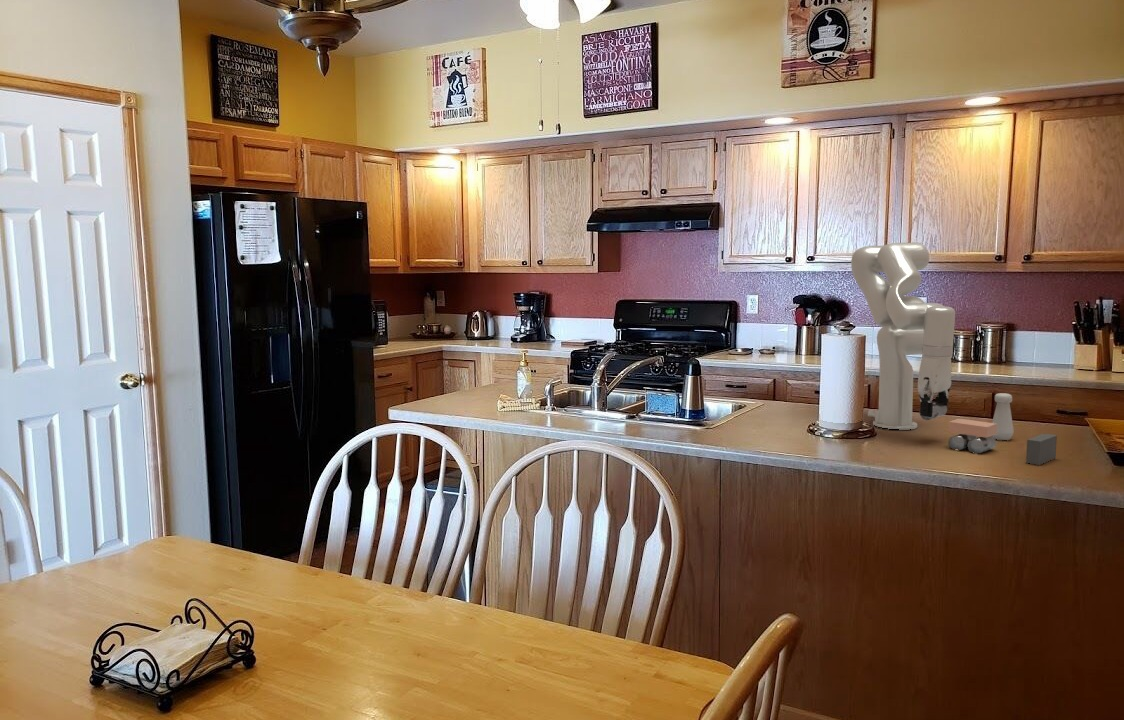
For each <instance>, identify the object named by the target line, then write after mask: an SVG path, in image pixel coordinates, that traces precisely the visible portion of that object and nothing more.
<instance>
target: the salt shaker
mask: <svg viewBox="0 0 1124 720" xmlns="http://www.w3.org/2000/svg"><path fill="white" fill-rule="evenodd" d="M994 401H995V402H996V406H995V410H994V413H993V419H992V421H991V423H995V424H997V434H996V435H993V437H994V438H995V440H996V439H997V440H996V441H1002V440H1007V441H1011V440H1012V436H1013V435H1014V433H1015V431H1014V423H1013V418H1012V409H1011V404H1010V403H1012V402H1013V395H1012V394H1010V393H1005V392H1004V393H1003V392H999V393H996V394H995V395H994Z"/></svg>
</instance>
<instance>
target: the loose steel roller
mask: <svg viewBox="0 0 1124 720" xmlns="http://www.w3.org/2000/svg"><path fill="white" fill-rule="evenodd" d="M932 403H933V411H932V417H926V416H921V415H920V414H919V416H920V417H921V419H922V420H926V421H929V420H933V419H936V418H939V417H942V416H945V415H946V414H947V411H948V405H947V406H946V405H945V404H944V403H943V402H932Z"/></svg>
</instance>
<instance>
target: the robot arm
mask: <svg viewBox="0 0 1124 720" xmlns="http://www.w3.org/2000/svg"><path fill="white" fill-rule="evenodd" d="M850 260H851V261H850V262H851V265H850V267H851V273H852V276H853V279H854V281H855V282H856V284H857V286H858V287H859V289H860V291H861V292H862V293H863V295H864V297H865V300H866V303H867V306H868V308H869V310H870V313H871V317H872V318H873V321H874V322H875V324H876V325H878V326H879V327H880V329H879V330H878V332H877V336H876V344H877V349H878V360H879V374H878V375H879V377H878V378H879V380H878V381H879V383H878V388H879V389H878V410H873V409H869V410H868V411H867V417H869V418H870V417H871V418H874V420H873V421H872V426H874V425H875V426H878V427H882V428H888V429H887V430H889V429H899V430H898V431H909V430H910V429H911V430H916V429H917V428H918V422H915V421H913V398H914V397H913V396H914V395H913V394H914V390H913V389H914V369H913V366H912V363H910V361H909V360H908V358H907V356H915V355H916V356H917V355H919V356H921V360H920V365H919V370H918V379H917V392H918V396H919V402H920V406H919V407H920V408H919V416H920V415H921V416H926V417H932V411H933V403H935V402H943V403H944V404H945V405H946V406H947V407H948V401H949V399H948V398H949V393H950V391H951V386H952V381H953V380H952V358H953V353H954V337H955V320H956V311H955V309H954V308H953V307H951V306H944V305H943V304H941V303H937V302H925V301H924V300H923V299H922V298H921V297H917V296H915V295H914V296H913V295H912V296H911V295H908V294H910V293H912V292H914V291H915V290H917V289H918V288H919V286H920V285H921V283H922V275H921V272H919V271H922V270H924V269H925V268H927V266H928V264H929V262H930V253H929V250H928V248H927V247H926V246H925V245H924V244H923V243H921V242H915V241H914V242H892V243H888V244H887V243H886V244H885V245H867V246H862V247H860V248H857V249H856V250H855V251H854V252H853V254H852V256H851V259H850ZM880 273H884V275H885V277H886V278H885V277H883V276H882V275H880ZM905 295H906V296H905ZM935 394H936V396H935V399H934V400H935V402H932V401H933V398H934V395H935ZM921 416H920V417H921ZM875 426H874V427H875ZM878 427H877V428H878ZM882 428H881V429H882ZM911 430H910V431H911Z"/></svg>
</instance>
